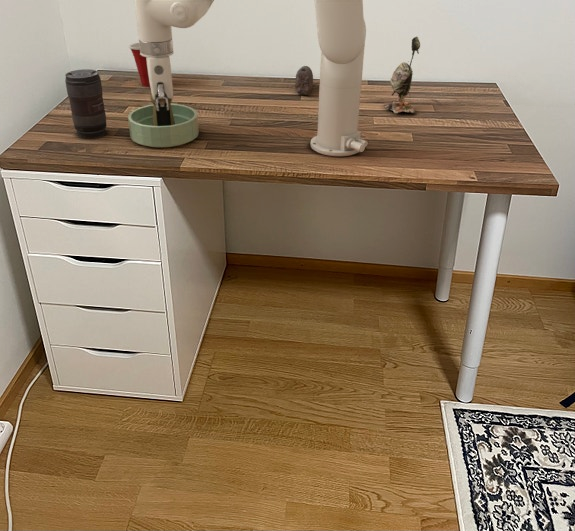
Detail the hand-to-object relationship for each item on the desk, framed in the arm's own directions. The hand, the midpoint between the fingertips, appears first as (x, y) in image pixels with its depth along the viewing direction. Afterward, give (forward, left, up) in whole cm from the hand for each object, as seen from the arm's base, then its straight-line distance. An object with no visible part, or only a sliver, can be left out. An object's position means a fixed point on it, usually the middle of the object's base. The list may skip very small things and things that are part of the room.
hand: (163, 119), depth 152 cm
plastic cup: (+39, -20, -5) cm, 44 cm away
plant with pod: (-24, -61, -5) cm, 66 cm away
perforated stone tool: (+5, -52, -5) cm, 52 cm away
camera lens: (+13, +13, -5) cm, 19 cm away
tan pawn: (0, 0, -4) cm, 4 cm away
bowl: (0, 0, -4) cm, 4 cm away
